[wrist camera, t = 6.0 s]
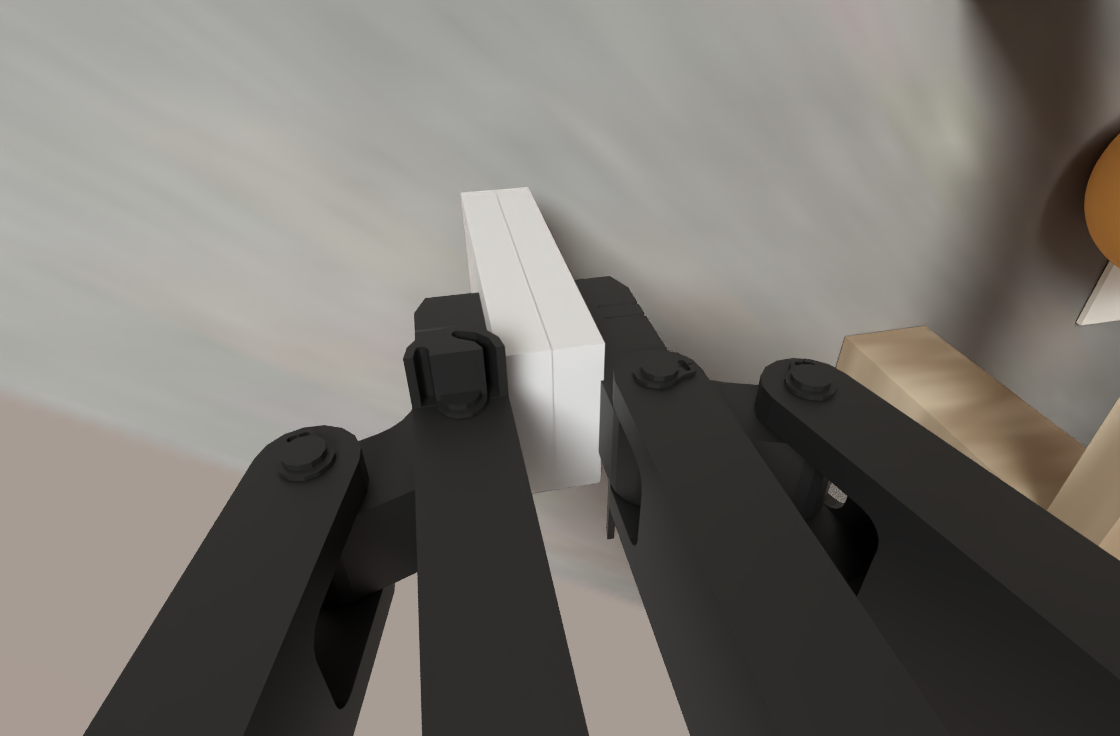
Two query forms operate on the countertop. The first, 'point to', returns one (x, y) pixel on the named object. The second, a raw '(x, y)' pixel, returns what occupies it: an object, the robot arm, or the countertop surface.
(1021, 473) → the bridge
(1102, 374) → the countertop surface
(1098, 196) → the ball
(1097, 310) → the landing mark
